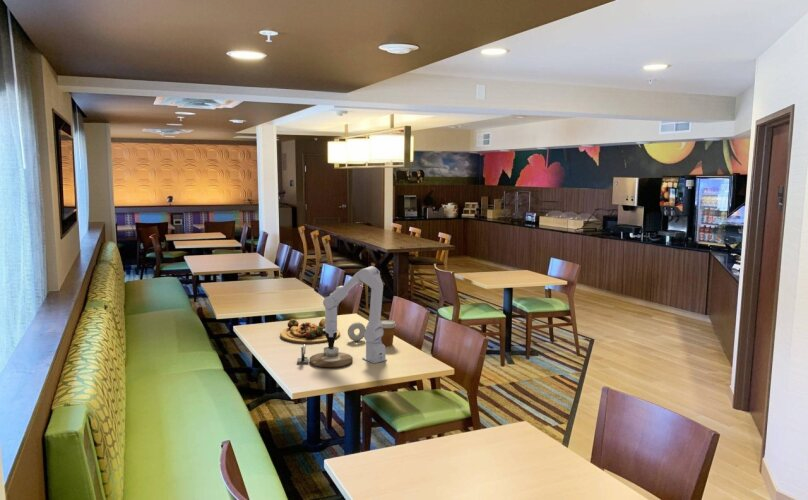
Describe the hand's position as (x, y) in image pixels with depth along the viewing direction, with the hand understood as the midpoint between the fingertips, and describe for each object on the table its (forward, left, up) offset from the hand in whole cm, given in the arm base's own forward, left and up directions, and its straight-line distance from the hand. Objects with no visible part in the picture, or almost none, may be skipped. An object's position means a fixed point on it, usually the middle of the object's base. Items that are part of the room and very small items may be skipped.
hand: (331, 347), depth 287 cm
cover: (-7, +5, -1) cm, 8 cm away
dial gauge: (-4, +19, -3) cm, 19 cm away
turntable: (-12, +8, -3) cm, 14 cm away
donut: (+9, -22, -3) cm, 24 cm away
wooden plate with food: (+33, -8, -3) cm, 34 cm away
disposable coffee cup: (-6, -30, -3) cm, 31 cm away
